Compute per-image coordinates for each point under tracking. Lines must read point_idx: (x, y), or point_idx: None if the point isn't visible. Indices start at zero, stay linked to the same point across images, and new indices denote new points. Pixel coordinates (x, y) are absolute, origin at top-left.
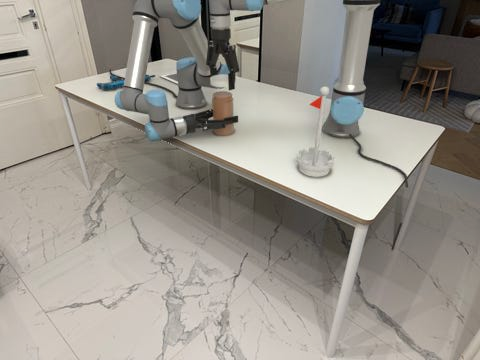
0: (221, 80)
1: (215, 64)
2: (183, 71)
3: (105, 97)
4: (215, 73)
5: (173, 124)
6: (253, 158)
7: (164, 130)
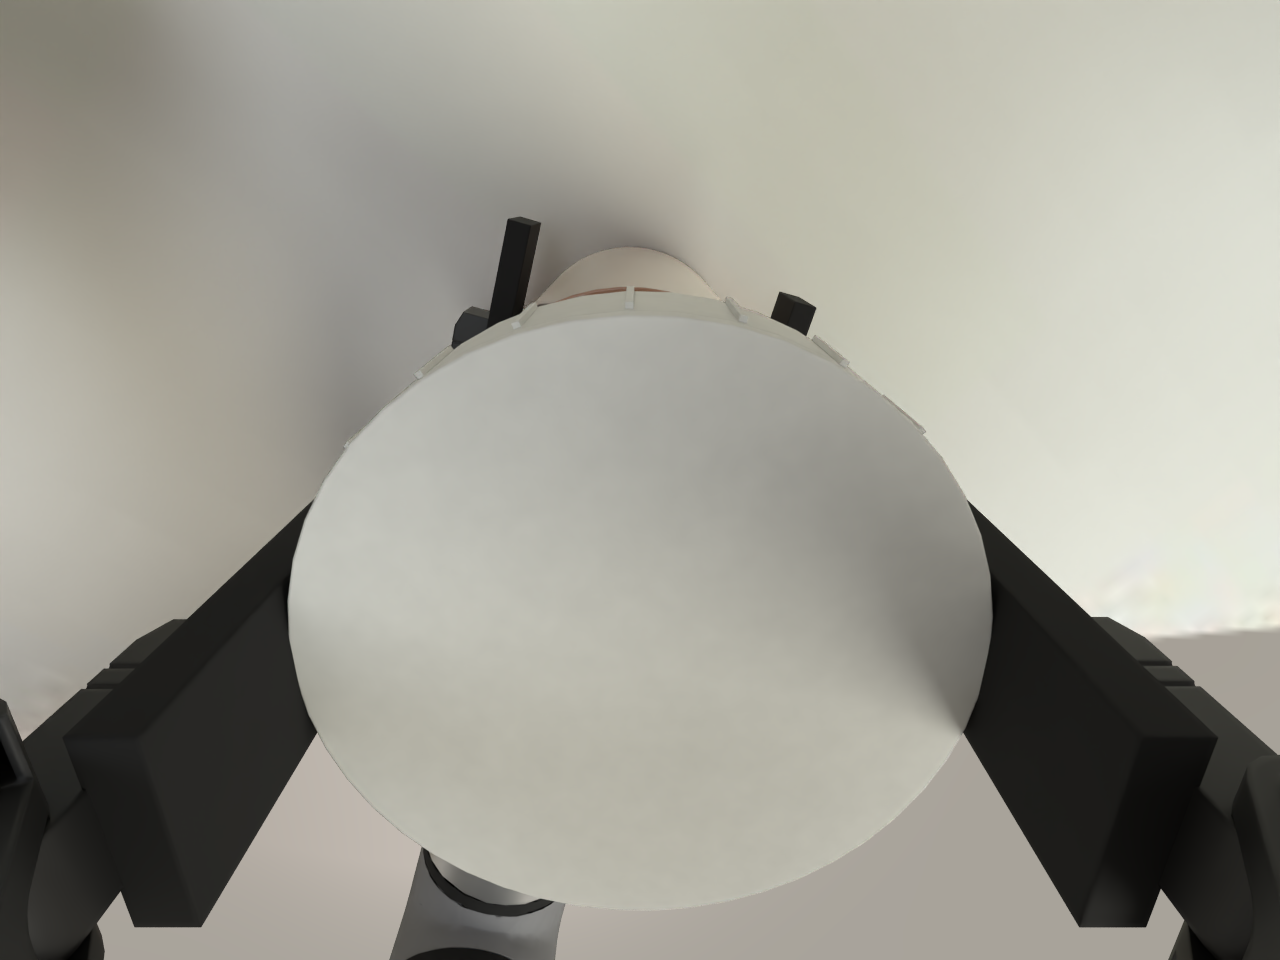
0: (786, 806)
1: (14, 878)
2: None
3: None
4: (266, 671)
5: (553, 902)
6: (1159, 514)
7: (556, 941)
